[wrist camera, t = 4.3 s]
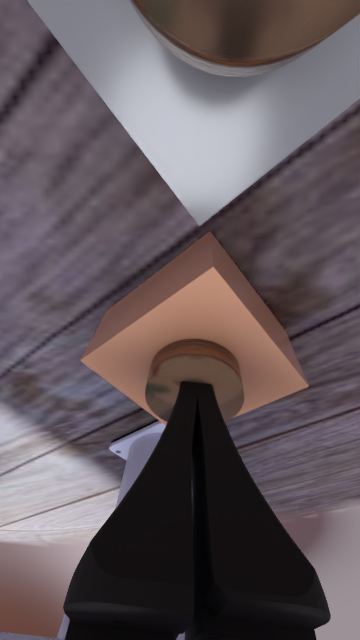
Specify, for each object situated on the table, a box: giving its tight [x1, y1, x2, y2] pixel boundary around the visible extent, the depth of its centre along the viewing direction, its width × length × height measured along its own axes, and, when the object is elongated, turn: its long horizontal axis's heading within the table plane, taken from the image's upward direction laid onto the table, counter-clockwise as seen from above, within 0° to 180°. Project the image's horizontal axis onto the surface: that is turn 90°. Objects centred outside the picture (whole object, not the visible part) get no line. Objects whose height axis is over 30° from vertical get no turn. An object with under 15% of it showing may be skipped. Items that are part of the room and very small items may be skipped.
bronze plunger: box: [145, 339, 244, 422], centre depth 15 cm, size 4×4×6 cm
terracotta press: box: [80, 231, 309, 425], centre depth 15 cm, size 8×8×4 cm
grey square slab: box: [27, 0, 360, 226], centre depth 8 cm, size 8×8×4 cm
